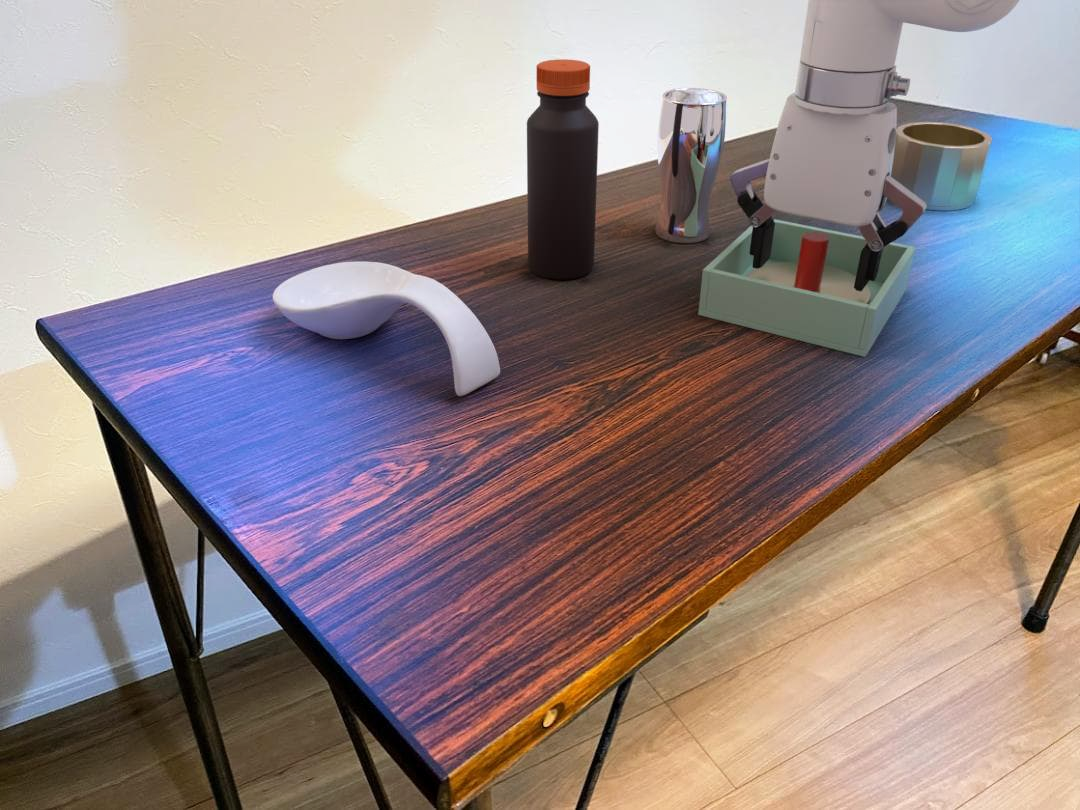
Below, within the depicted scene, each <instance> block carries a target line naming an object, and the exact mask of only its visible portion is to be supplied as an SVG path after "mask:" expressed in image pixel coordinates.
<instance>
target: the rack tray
mask: <svg viewBox="0 0 1080 810" xmlns="http://www.w3.org/2000/svg"><path fill="white" fill-rule="evenodd" d="M773 219H774V222H775V228H774V235H773V242H772V249H771V255H770V259H769V260H768V261H767V262H766V263H765V264H764V265H767V264H771V263H778V262H798V259H799V253H800V247H801V241H802V236H803V234H804V233H807V232H819V233H823V234H825V235H827V236H828V237H829V243H828V249H827V254H826V260H825V265H827V266H831V267H835V268H838V269H841V270H844V271H846V272H849V273H851V274H853V275H855V276H856V274H857V269H858V264H859V259H860V254H861V251H862V249H863V248H864V246H865V245H866V244H867V243H866V241H865V239H864V238H863V236H862V235H857V234H851V233H847V232H842V231H836V230H831V229H826V228H821V227H816V226H811V225H806V224H800V223H795V222H791V221H785V220H781V219H775V218H773ZM752 230H753V227H752V226H751V225H750V226H748V228H747V229H746V230H745V231H743V232H742V233H741V234H740V235H739V236H738V237H737V238H736V239H735V240H733V241H732V242H731V244H729V245H728V246H727V247H726V248H725V249H724V250H722V251H721V253H719V254H718V255H717V256H716V257H715V258H714V259H713V260H712V261H711V262H710V263H709V264H707V265H706V266H705V267H704V268H703V269H702V273H701V274H702V275H701V282H700V283H701V285H700V295H699V304H698V312H697V315H698V316H702V317H705V318H708V319H712V320H716V321H721V322H725V323H727V324H728V323H729V324H733V325H736V326H740V327H744V328H749V329H752V330H756V331H761V332H764V333H768V334H773V335H776V336H780V337H784V338H787V339H791V340H794V341H795V340H796V341H800V342H804V343H808V344H812V345H815V346H820V347H824V348H827V349H831V350H836V351H839V352H843V353H847V354H851V355H855V356H859V357H863V358H866V357H867V355H868V354H869V352H870V350H871V349H872V347H873V345H874V343H876V341H877V339H878V337H879V335H880V333H881V332H882V330H883V329H884V327H885V325H886V324H887V322H888V320H889V319H890V318H891V316H892V314H893V313H894V311H895V309H896V307H897V306H898V304H899V302H900V301H901V299H902V297H903V296H904V294H905V293H906V291H907V288H908V283H909V278H910V274H911V271H912V266H913V263H914V258H915V254H916V250H917V247H916V246H913V245H908V244H903V243H898V242H894V241H893V242H891V243H890V244H888V245H886V246H885V247H883V251H882V255H881V260H880V265H879V269H878V273H877V277H876V279H875V280H874V281H870V280H869V282H868V283H867V286H868V287H869V289H870V291H871V299H870V303H869V304H865V303H861V302H856V301H852V300H848V299H843V298H839V297H834V296H830V295H826V294H821V293H817V292H812V291H808V290H804V289H799V288H795V287H790V286H786V285H782V284H777V283H773V282H768V281H764V280H760V279H755V278H751V277H747V275H748V274H749V273H750V272H751V271H752V270H754V269H756V268H753V267H752V265H753V258H754V256H753V255H750V245H751V237H752Z"/></svg>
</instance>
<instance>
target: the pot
mask: <svg viewBox="0 0 1080 810" xmlns="http://www.w3.org/2000/svg"><path fill="white" fill-rule="evenodd" d="M992 143H993V138H992V136H991V135H990V134H989V133H987V132H985V131H982V130H980V129H978V128H975V127H971V126H967V125H963V124H957V123H949V122H941V121H917V122H915V121H914V122H909V123H904V124H901V125H899V126H898V127H896V140H895V150H894V159H893V165H892V172H891V177H892V178H893V179H895V180H896V181H897V182H899V183H900V184H901V185H903V186H904V187H905V188H907V189H908V190H909V191H911V192H912V193H913V194H915V195H916V196H917V197H919V198H920V199H921V200H923V201H924V202H925V203H926V205H927V208H926V211H927V210H928V211H929V210H930V211H941V212H943V211H945V212H947V211H948V212H949V211H958V210H965V209H967V208H970V207H972V206H973V205H974V204H975V203H976V200H977V198H978V194H979V191H980V188H981V183H982V179H983V176H984V174H985V173H984V172H985V168H986V165H987V161H988V159H989V158H988V157H989V154H990V150H991V146H992Z"/></svg>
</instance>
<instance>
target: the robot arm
mask: <svg viewBox="0 0 1080 810" xmlns="http://www.w3.org/2000/svg"><path fill="white" fill-rule="evenodd" d="M1019 2H1020V0H808V2H807V9H806V17H805V22H804V23H805V24H804V29H803V37H802V43H801V50H800V56H799V63H798V72H797V76H796V83H795V91H794V92H792V93H791V94H789V96H787V98H786V100H785V103H784V105H783V109H782V112H781V114H780V118H779V121H778V123H777V126H776V127H777V128H776V131H775V135H774V139H773V143H772V146H771V151H770V155H769V158H767V159H765V160H761V161H759V162H756V163H753V164H750V165H748V166H744V167H741V168H739V169H737V170H735V171H734V172H733V173H731V175H730V176H729V180H730V183H731V185H732V189H733V191H734V193H735V195H736V197H737V200H736V201H737V204H738V206H739V207H740V209H741V210H742V211H743V213H744V214H745V216H746V217H747V219H748V225H750V226H752V227H753V230H752V237H751V245H750V255H753V256H754V258H753V265H752V267H753V268H756V269H759V268H761V267H762V266H763V265H764V264H765V263H766V262H767V261H768V260H769V259H770V255H771V249H772V242H773V235H774V228H775V222H774V219H775V218H773V215H774V214H776V213H777V212H778V213H781V214H785V215H790V216H791V215H792V216H796V217H801V218H805V219H811V220H816V221H823V222H828V223H834V224H838V225H845V226H850V227H856V228H857V229H858V231H859V233H860V234H861V236H862V237H863V238H864V239H865V241H866V243H867V244H866V245H865V246H864V248H863V249H862V251H861V254H860V259H859V264H858V269H857V274H856V279H855V284H854V289H856V291H861V292H862V290H863V289H864V287H865V286H866V285H867V283H868V282H869V280H870V281H874V280H875V279H876V277H877V273H878V269H879V265H880V260H881V255H882V251H883V247H885V246H886V245H888V244H890V243H891V242H893V243H894V242H895V241H896V240H898V239H899V238H901V237H903V236H904V235H905V234H906V233H907V232H908V231H909V230H910V228H912V227H913V226H914V224H915V223H916V222H917V221H918V220H919V219H920V218H921V216H922V215H923V214H924V213H925V211H927V209H926V208H927V205H926V203H925V202H924V201H923V200H921V199H920V198H919V197H917V196H916V195H915V194H913V193H912V192H911V191H909V190H908V189H907V188H905V187H904V186H903V185H901V184H900V183H899V182H897V181H896V180H895V179H893V178H892V177H891V172H892V165H893V159H894V150H895V140H896V129H897V125H898V124H897V123H898V111H897V110H898V109H897V108H898V107H897V105H896V104H895V103H893V102H889V100H890V99H891V98H892V97H897V96H907V95H908V93H909V90H910V85H911V78H907V77H902V75H898V71H896V70H897V65H896V60H897V55H898V49H899V45H900V40H901V36H902V35H901V34H902V30H903V25H904V24H909V25H915V26H920V27H925V28H930V29H936V30H941V31H946V32H954V33H970V32H975V31H980V30H983V29H986V28H989V27H991V26H993V25H995V24H997V23H998V22H999V21H1001V20H1002V19H1004V18H1006V16H1008V15H1009V14H1010V13H1011V12H1012V11H1013V10H1014V8H1016V6H1017V5H1018V4H1019ZM764 177H765V181H764V187H763V202H764V203H763V202H762V201H761V199H760V198H759V196H758V195H757V194H756V192H755V191H754V190H753V186H752V183H751V182H752V181H755V180H758V179H762V178H764ZM887 200H889V201H890V202H891V203H892V204H894V205H895V206H897V207H898V208H899V209H901V211H902V213H901V215H900V216H899V217H898V218H897V219H896V220H894V221H893V222H891V223H890V224H888V225H887V224H886V223H885V221H884V220H883V218H882V216H881V214H880V212H883V210H884V208H885V205H886V203H887Z"/></svg>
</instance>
